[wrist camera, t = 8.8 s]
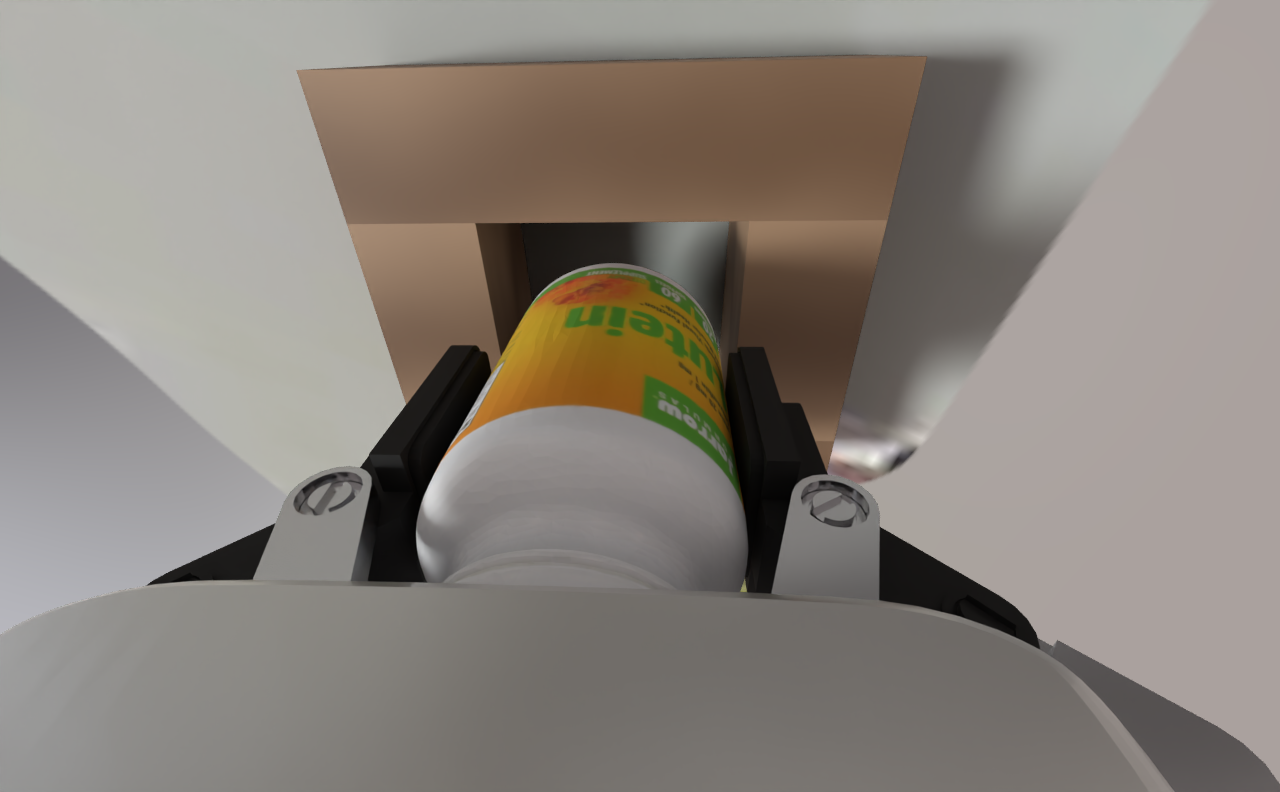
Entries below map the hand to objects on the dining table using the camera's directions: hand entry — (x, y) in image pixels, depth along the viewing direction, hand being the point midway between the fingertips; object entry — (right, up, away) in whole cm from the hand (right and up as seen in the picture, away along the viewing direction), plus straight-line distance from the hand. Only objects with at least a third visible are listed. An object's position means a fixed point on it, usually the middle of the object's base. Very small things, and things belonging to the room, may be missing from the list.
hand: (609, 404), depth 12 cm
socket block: (0, +4, +5) cm, 7 cm away
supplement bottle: (0, +1, +2) cm, 3 cm away
